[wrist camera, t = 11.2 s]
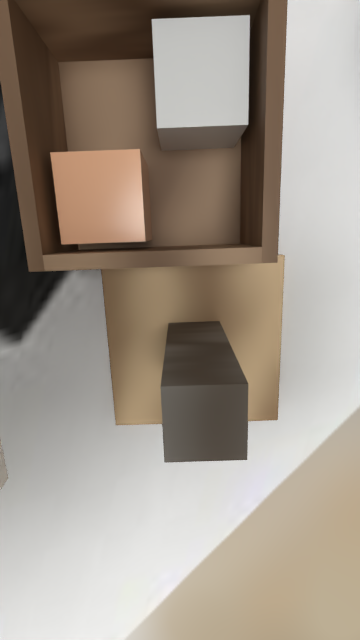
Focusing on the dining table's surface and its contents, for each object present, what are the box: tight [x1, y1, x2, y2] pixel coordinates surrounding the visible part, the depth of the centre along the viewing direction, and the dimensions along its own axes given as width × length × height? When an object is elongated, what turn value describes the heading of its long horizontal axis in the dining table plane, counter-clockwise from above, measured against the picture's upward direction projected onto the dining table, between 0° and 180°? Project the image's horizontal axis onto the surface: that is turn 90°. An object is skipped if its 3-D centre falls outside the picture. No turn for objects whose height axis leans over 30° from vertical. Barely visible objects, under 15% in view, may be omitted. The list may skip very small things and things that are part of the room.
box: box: [0, 0, 287, 272], centre depth 16 cm, size 11×11×6 cm
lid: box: [101, 255, 285, 462], centre depth 17 cm, size 11×11×10 cm
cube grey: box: [152, 15, 250, 151], centre depth 16 cm, size 4×4×4 cm
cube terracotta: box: [50, 149, 152, 244], centre depth 17 cm, size 4×4×4 cm
